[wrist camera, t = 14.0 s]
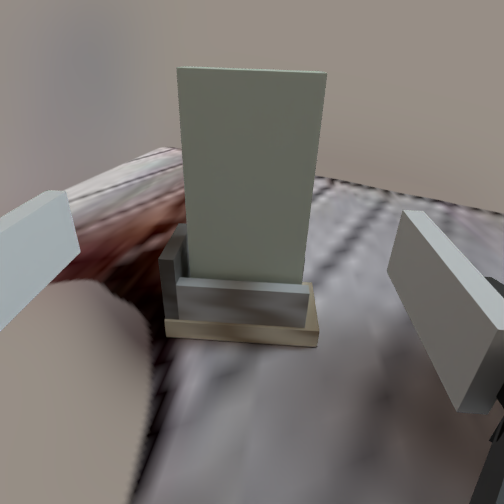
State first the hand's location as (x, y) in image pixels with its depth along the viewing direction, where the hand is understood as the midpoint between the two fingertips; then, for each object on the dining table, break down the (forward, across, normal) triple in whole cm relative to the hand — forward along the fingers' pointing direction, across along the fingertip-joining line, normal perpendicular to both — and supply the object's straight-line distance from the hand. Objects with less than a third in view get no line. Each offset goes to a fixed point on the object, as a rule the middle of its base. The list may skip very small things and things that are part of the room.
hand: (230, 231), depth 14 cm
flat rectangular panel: (+9, 0, -11) cm, 14 cm away
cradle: (+9, 0, -12) cm, 15 cm away
